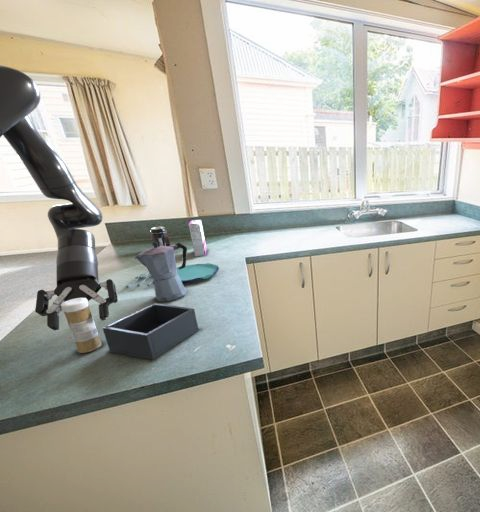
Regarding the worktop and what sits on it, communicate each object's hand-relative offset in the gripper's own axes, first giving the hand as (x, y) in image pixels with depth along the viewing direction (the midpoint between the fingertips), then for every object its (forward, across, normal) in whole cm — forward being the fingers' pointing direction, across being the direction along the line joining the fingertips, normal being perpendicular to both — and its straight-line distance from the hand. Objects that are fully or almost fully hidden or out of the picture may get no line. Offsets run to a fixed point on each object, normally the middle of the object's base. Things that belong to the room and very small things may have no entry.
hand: (79, 324), depth 72 cm
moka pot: (-13, +17, +25) cm, 33 cm away
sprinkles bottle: (+5, 0, +6) cm, 8 cm away
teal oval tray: (-27, +19, +38) cm, 50 cm away
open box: (+8, +14, +3) cm, 16 cm away
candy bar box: (-50, +28, +62) cm, 84 cm away
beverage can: (-62, +12, +74) cm, 97 cm away
